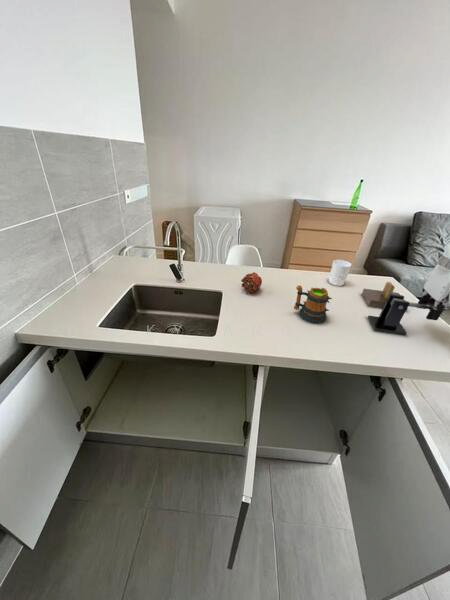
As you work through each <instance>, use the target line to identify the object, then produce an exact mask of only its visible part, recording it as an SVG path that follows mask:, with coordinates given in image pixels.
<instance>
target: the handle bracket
mask: <svg viewBox="0 0 450 600" xmlns="http://www.w3.org/2000/svg"><path fill="white" fill-rule="evenodd" d="M393 298H399V299H402V300H403V299H404V300H405V296H404V295H401V294H400V295H394V294H389V296H388V298H387V300H386V303H385V305H384V307H383V308H381V311H380V313H379V315H378V316H376V315H368V316H367V320H368V322H369V324H370V326H371V327H372V329H373V331H374V332H378V333H385V334H392V335H399V336H406V335H407V331H406V330H405V328H404V326H402V324H401V321H402V319H403V317H404V315H405V314H406V312H407V310H408V308H409V304H410V303H411V302H410V301H406V300H405V301H400V300H394V301H393V303H392V305H391V304H390V303H391V301H392V299H393Z"/></svg>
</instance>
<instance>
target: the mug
mask: <svg viewBox="0 0 450 600" xmlns="http://www.w3.org/2000/svg"><path fill="white" fill-rule="evenodd" d="M295 288H296V290H297V292H296V293H297V296H296V302H295V304H294V305H293V309H294V310H296V311H298V310H299V309H300V310H299V313H298V314H299V317H300V318H301V319H302V321H305V322H307V323H310V324H316V325H317V324H318V325H319V324H323V323H325V322H326V320H327V312H329V311H330V309H327V304H328V303H329V304H330V301H329V300H332V299H333V297H330V296H329V293H328V290H327V288H324V287H310V290H306V291H303V287H302V285H296V287H295ZM302 296H306V299H305V300H303V301H302V302H303V303H301V299H302ZM300 307H301V308H300Z"/></svg>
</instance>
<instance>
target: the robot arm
mask: <svg viewBox="0 0 450 600" xmlns="http://www.w3.org/2000/svg"><path fill="white" fill-rule="evenodd" d="M421 291H422V293H421V294H420V298H419V300H418V302H417V304H423V302H424V301H427V302H428V303H429V304H430V303H431V302H432V300H433V299H434V304H433V308H431V310H428V313H427V315H426V317H425V319H426V320H430V321H438V320H439V318H440V317H441V315H442V314H443V312H446V311H448V310H450V241H449V242H448V244H447V245H446V248H445V249H444V251H443V253H442V255H441V257H440V258H439V261H438V262H437V264H436V265H435V267H434V268H433V269H432V271H431V272H430V274H429V276H428V277H427V279H426V281H424V282H423V283H422V290H421ZM432 298H433V299H432ZM440 303H441V305H440ZM430 305H431V304H430ZM420 309H421V310H422V309H423V310H426V309H425V308H420Z"/></svg>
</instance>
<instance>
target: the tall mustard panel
mask: <svg viewBox="0 0 450 600" xmlns="http://www.w3.org/2000/svg"><path fill="white" fill-rule="evenodd" d="M395 288H396V286H395V285H394V284H393V283H392V282H391V281H386V282H385V285H384V287H383V288H382V289H383V290H381V291H382V295H383V296H384V297H385V299H387V298H388V296H389V294H392V292H394V290H395Z"/></svg>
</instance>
